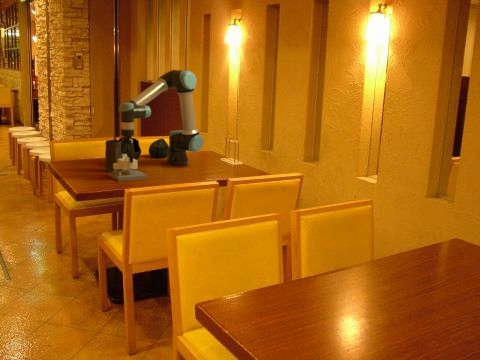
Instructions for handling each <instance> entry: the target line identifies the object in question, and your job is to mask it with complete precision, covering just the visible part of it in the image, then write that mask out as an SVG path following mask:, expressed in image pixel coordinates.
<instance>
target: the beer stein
mask: <svg viewBox="0 0 480 360" xmlns="http://www.w3.org/2000/svg"><path fill="white" fill-rule="evenodd" d="M104 153H105V155H104V156H105V172H106V173H107V174H109V172H114V170H117V172H119V171H124V170H123V169H113V164H114V163H118V159H122V152H121V141H120V140H119V139H109V140H108V139H107V140H105V152H104Z"/></svg>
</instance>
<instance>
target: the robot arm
mask: <svg viewBox="0 0 480 360" xmlns="http://www.w3.org/2000/svg"><path fill="white" fill-rule="evenodd" d="M197 82H198V80H197V76H196V75H195V74H194V72H192V71H190V70H186V69H185V70H184V69H182V70H181V69H172V70H168V71H167V72H166V73H164V74H162V75H161V76H159V77H158V78H157V79H156V81H155V82H154V83H153V84H151V85H150V86H148V87H147V88H146V89H144V90H143V91H142V92H140V93H139V94H137V96H135V97H133V98H132V99H131V100H128V102H122V103H120V105H119V107H118V112H119V113H120V127H121V128H120V135H121V137H120V138H121V140H122V141H121V152H122V159H123V158H125V157H127V148H128V153H129V156H128V163H129V168H133V157H134V156H135V151H134V140H132V138H133V137H134V135H135V130H134V129H135V119H146V118H149V117H151V115H152V110H151V107H150V106H149V105H147V104H149V103H150V102H151V101H152V100H154V99H155V98H156V97H158V96H159V95H160V94H162V93H163V92H167V91H168V90H171V89H175V93H176V94H177V95H178V97H179V105H180V113H181V114H180V115H181V120H182V122H181V123H182V129H181V130H180V129H179V130H171V131H170V132H169V135H168V140H169V141H168V142H169V143H168V146H169V155H168V156H167V157H166V164H167V165H171V166H183V165H184V166H185V165H188V164H189V157H188V155H187V152H191V153H197V152H199V151H201V150H202V148H203V146H204V143H205V142H204V137H203V136H202V135H200V132H199V129H197V123H196V114H195V107H194V106H195V105H194V98H193V93H194V92H195V88H196V86H197V84H198V83H197ZM123 136H124V137H123Z"/></svg>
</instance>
